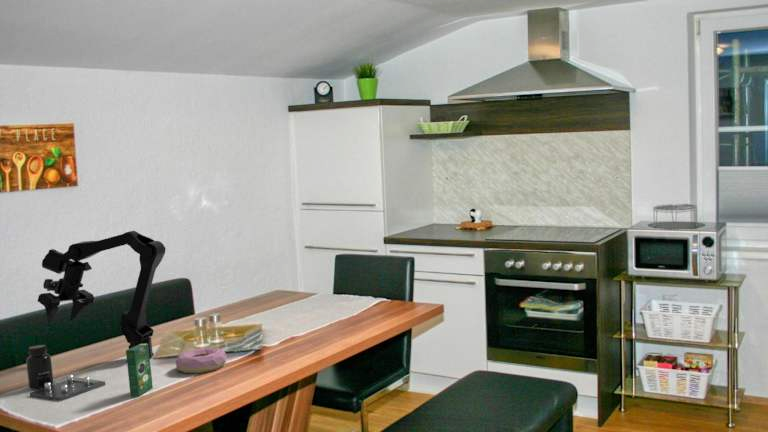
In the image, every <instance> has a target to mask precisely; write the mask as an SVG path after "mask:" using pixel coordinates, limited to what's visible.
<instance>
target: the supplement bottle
mask: <svg viewBox="0 0 768 432" xmlns="http://www.w3.org/2000/svg"><path fill="white" fill-rule="evenodd" d="M47 351H48V350H47V345H46V344H38V345H33V346H30V347H28V355H29V356H28V357H27V358H26V360H25V361H26V370H27V371H26V373H27V381H28V382H27V383H28V387H29V389H31V390H39V389H42V388H45V384H44V383H47V382H50V383H51V385H54V374H53V373H54V372H53V365H52V363H53V362H52V357H51V355H50V354H49V353H47Z"/></svg>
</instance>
